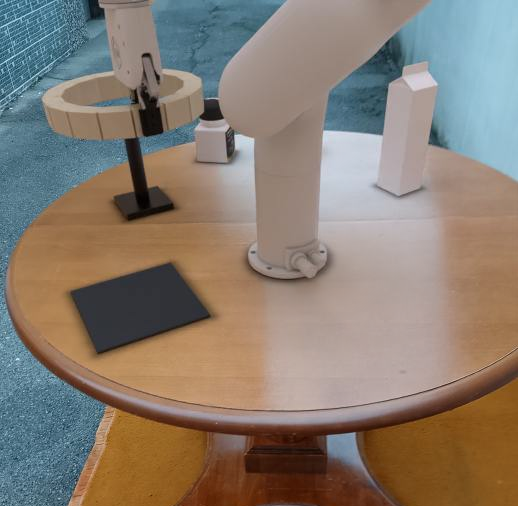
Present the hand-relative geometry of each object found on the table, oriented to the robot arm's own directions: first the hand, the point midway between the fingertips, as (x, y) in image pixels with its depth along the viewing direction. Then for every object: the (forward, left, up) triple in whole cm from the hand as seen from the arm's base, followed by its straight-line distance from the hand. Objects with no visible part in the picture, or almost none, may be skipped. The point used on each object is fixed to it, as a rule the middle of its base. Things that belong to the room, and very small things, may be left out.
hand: (149, 130), depth 84 cm
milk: (-7, -46, -18) cm, 50 cm away
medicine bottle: (+27, -22, -18) cm, 39 cm away
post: (+12, 0, -17) cm, 21 cm away
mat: (-19, +11, -17) cm, 28 cm away
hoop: (+12, 0, 0) cm, 12 cm away
